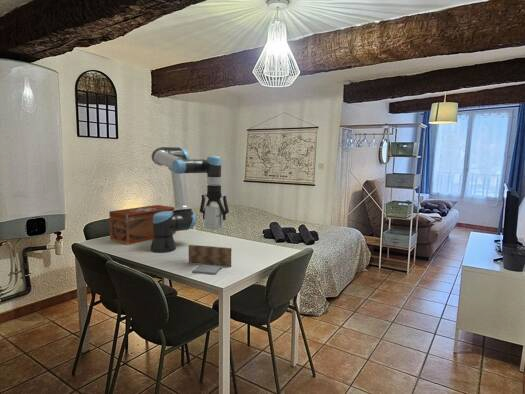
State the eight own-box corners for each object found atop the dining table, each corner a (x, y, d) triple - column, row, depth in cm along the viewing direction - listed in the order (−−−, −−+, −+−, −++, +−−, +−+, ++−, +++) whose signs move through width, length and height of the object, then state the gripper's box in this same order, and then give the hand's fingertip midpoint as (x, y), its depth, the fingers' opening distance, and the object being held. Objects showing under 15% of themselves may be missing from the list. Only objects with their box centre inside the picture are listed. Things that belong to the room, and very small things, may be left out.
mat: (192, 272, 166) (192, 270, 166) (200, 266, 175) (200, 264, 175) (215, 274, 163) (215, 272, 163) (221, 268, 173) (221, 266, 173)
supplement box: (215, 230, 176) (215, 206, 174) (204, 228, 180) (204, 205, 178) (223, 227, 182) (223, 205, 181) (213, 226, 186) (213, 204, 184)
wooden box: (109, 240, 225) (108, 211, 222) (158, 229, 258) (158, 204, 256) (127, 245, 213) (126, 215, 211) (176, 233, 247) (175, 207, 244)
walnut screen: (188, 263, 180) (188, 245, 179) (189, 262, 181) (189, 244, 180) (230, 266, 176) (230, 248, 174) (231, 266, 177) (231, 247, 176)
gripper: (192, 184, 176) (193, 225, 179) (231, 185, 172) (231, 228, 175) (197, 183, 183) (198, 223, 186) (235, 184, 180) (234, 225, 182)
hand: (214, 225), depth 181 cm, fingers closed on supplement box, 9 cm apart
